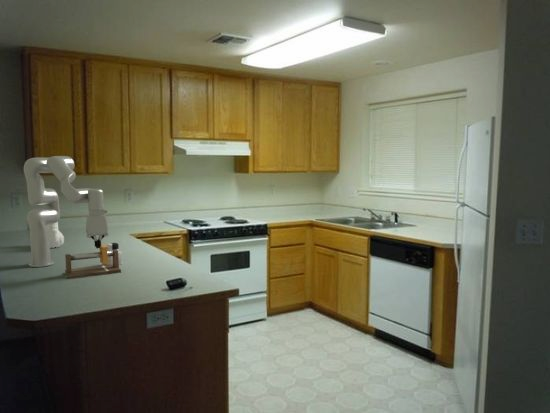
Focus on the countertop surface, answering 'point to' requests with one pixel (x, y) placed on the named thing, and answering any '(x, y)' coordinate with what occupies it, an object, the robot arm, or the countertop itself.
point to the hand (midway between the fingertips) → (98, 247)
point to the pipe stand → (91, 270)
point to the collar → (104, 254)
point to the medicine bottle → (110, 259)
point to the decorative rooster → (55, 235)
